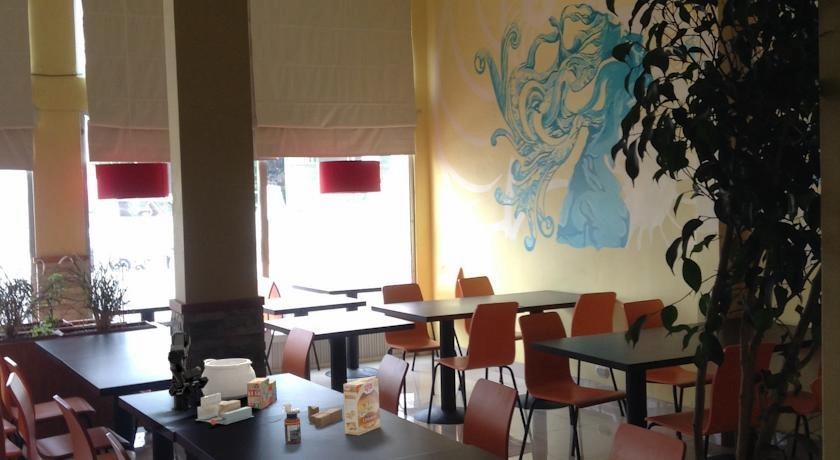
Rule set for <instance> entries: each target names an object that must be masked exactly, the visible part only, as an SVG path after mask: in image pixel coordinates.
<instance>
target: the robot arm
mask: <svg viewBox="0 0 840 460" xmlns="http://www.w3.org/2000/svg"><path fill="white" fill-rule="evenodd" d="M171 346H172V347H171V348H170V349H169V350H170V351H169V352H168V354H167V355H168V356H167V361H168V363H169V371H170V372H171V374H172V376H171V377H172V378H171V382H170V386H169V389H168V395H170V397H171V398H172V397H173V405H174V406H173V407H171V410H178V411H182V410H186V409H191V408H192V406H191V405H190V404H189V403H190V401H189V399H192V400H193V401H196V402H199V401H201V398H200V394H199V390H202V389H203V388H204V387H205V385H206V384H207V382H208V381H209V380H208V378H207V377H205V376H204V377H202V376H201V377H198V376H200V375H201V373H203V372H202V369H201V367H200V366H198V365H197V366H195V367H194V368H191V369H188V370H187V369H186V360H187V359H188V354H189V353H188V351H189V350H190V346H191V336H190V334H187V333H186V332H185V331H184V332H183V331H177V332H174V333H173V335H172V336H171ZM197 377H198V378H197ZM195 380H196V381H195Z"/></svg>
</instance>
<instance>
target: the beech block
mask: <svg viewBox="0 0 840 460" xmlns="http://www.w3.org/2000/svg"><path fill="white" fill-rule="evenodd" d="M226 401H227V402H224V403H220V404H218V419H220V418H222V413H225V412H229V411H232V410H236V409H240V408H241V400H238V399H232V400H226Z"/></svg>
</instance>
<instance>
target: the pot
mask: <svg viewBox="0 0 840 460" xmlns="http://www.w3.org/2000/svg"><path fill="white" fill-rule="evenodd" d="M203 363H204V370H203V372H202V374H201V377H204V376H205V377H207V378H208V380H209V381H208V382H207V384H206V385H205V387H204V388H203V389H201V392H202V393H203V396H204V397H205V396H209V395H213V394H217V393H221V401H231V400H238V399H242V398H243V399H244V398H248V395H247V383H248V382H250V381H252V380H254V379H256V378H257V376H256V373H255V370H254V369H253V367H252V366H251V364H253V361H251V359H249V358H224V359H223V358H222V359H214V358H208V359H204V360H203Z"/></svg>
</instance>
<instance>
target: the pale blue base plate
mask: <svg viewBox="0 0 840 460" xmlns="http://www.w3.org/2000/svg"><path fill="white" fill-rule="evenodd" d="M252 411H253V410H252V408H251V407H248V406H244V407H240V409H236V410H232V411H229V412H225V413H222V418H220V419H218V416H216V417H212V418H209V419H205V420H203V419H198V418H197V419H196V421H200V422H206V423H210V424H211V425H214V426H215V425H216V424H220V425H229V424H232V423H236V422H239V421H243V420H246V419H250V418H253V417H255V416H254V415H253V412H252Z"/></svg>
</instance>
